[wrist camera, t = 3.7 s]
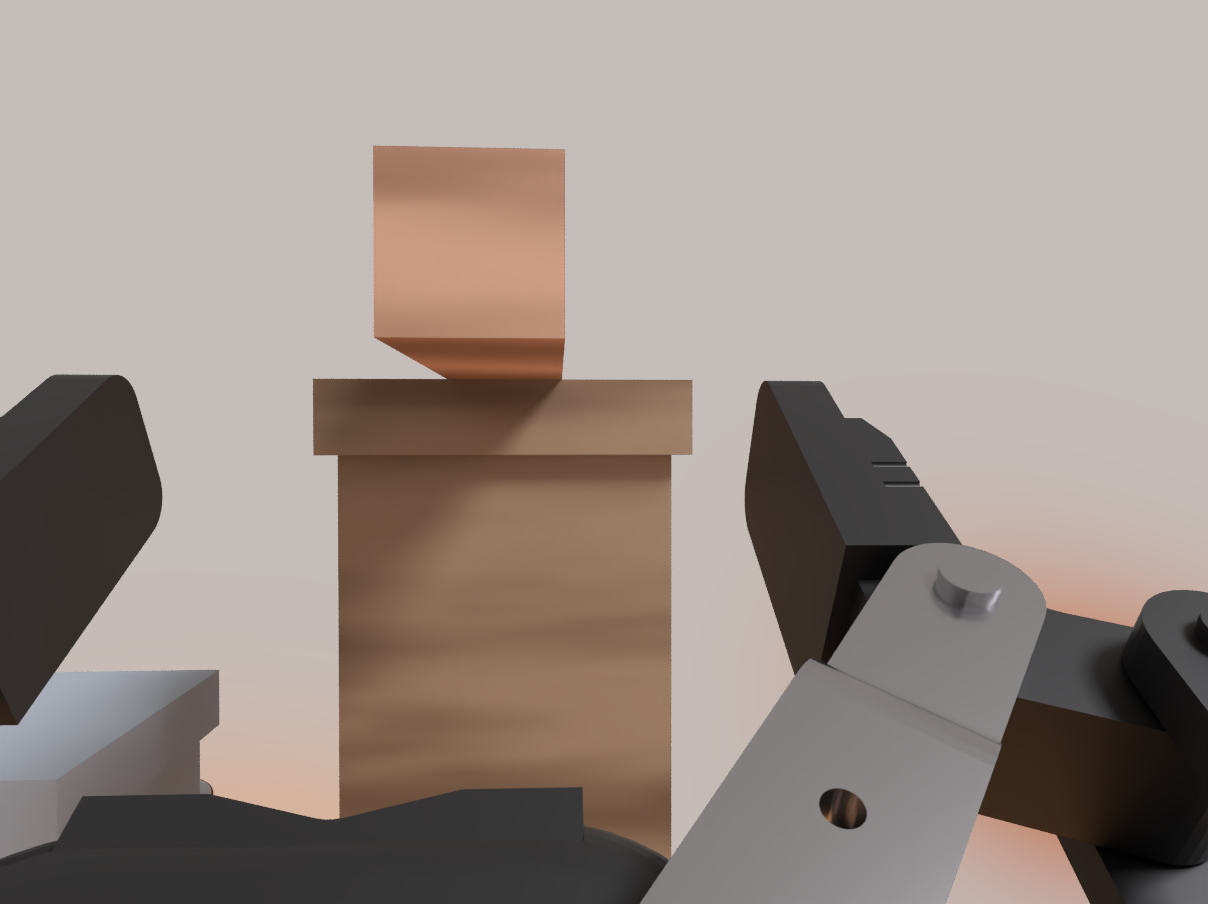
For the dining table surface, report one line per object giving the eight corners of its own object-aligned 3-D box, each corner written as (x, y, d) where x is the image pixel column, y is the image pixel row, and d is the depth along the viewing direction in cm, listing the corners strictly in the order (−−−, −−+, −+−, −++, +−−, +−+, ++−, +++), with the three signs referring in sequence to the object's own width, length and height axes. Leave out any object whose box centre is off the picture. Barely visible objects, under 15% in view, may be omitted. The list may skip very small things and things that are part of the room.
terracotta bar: (565, 338, 13) (564, 149, 13) (374, 337, 13) (373, 146, 13) (559, 402, 35) (559, 331, 35) (488, 402, 35) (487, 330, 35)
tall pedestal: (691, 1552, 23) (692, 380, 23) (319, 1579, 22) (313, 378, 22) (650, 1216, 33) (650, 399, 33) (392, 1229, 32) (389, 398, 32)
